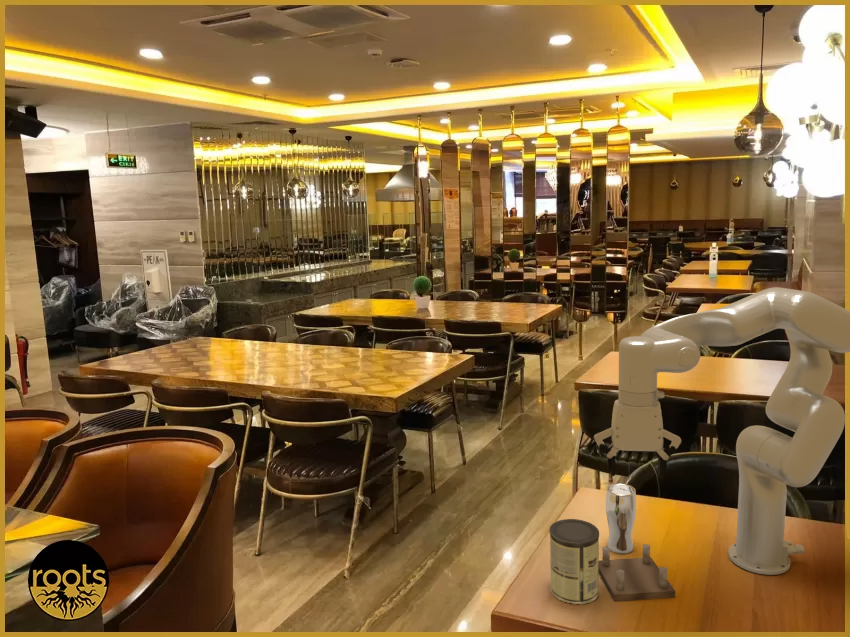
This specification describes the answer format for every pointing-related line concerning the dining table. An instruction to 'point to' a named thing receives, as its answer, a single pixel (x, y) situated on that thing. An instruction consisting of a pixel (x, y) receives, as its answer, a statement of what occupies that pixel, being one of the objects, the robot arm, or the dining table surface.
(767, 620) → the dining table surface
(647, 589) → the peg stand
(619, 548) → the beer glass
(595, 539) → the coffee can
